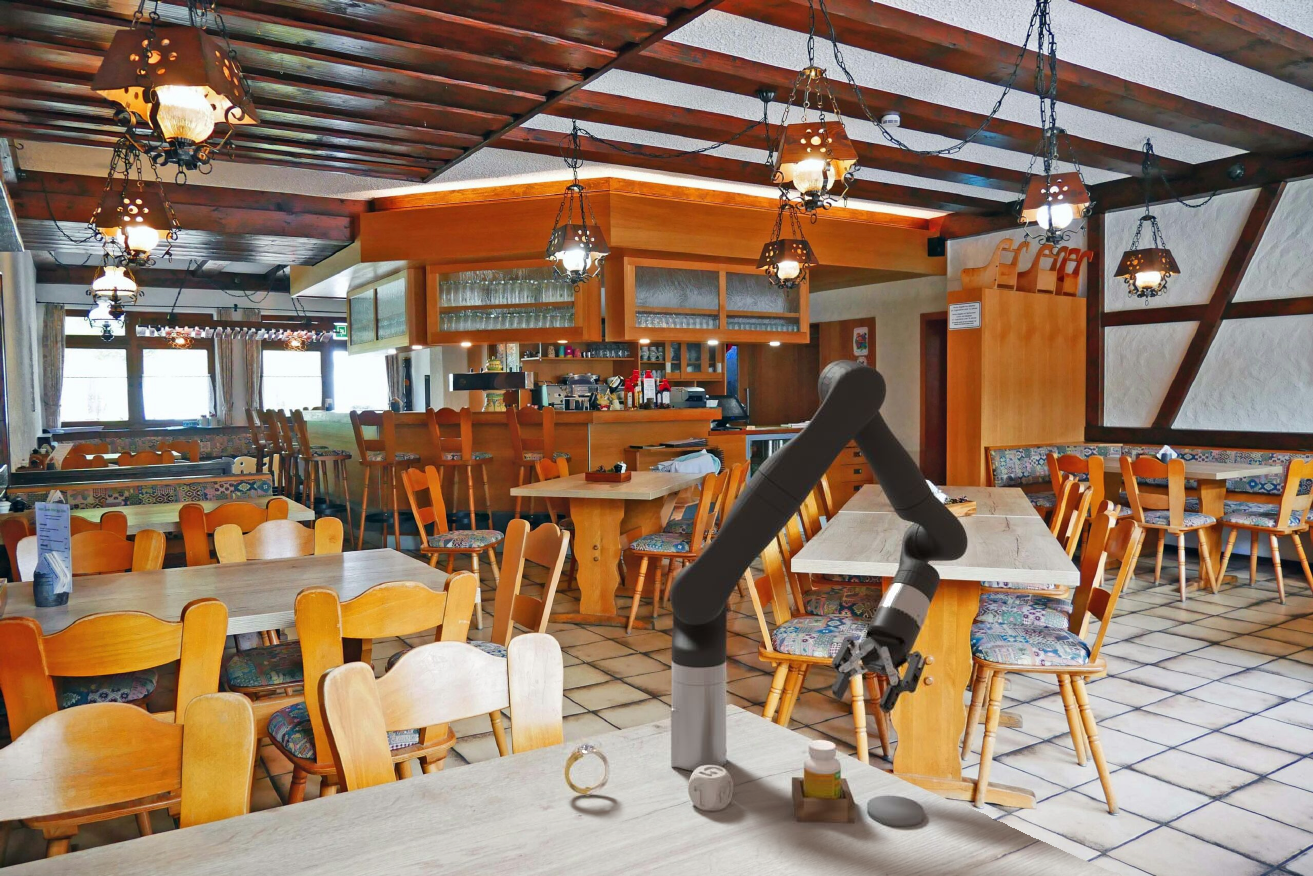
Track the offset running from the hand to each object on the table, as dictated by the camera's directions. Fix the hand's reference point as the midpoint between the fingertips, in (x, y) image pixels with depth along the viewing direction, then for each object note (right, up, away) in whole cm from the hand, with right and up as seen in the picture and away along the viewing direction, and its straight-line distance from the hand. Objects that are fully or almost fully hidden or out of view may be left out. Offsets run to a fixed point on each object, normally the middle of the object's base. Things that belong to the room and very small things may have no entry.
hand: (859, 703), depth 137 cm
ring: (-42, -14, -1) cm, 44 cm away
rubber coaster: (+3, -14, -8) cm, 16 cm away
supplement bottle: (-7, -14, -6) cm, 17 cm away
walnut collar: (-7, -14, -6) cm, 17 cm away
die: (-23, -14, -4) cm, 28 cm away
